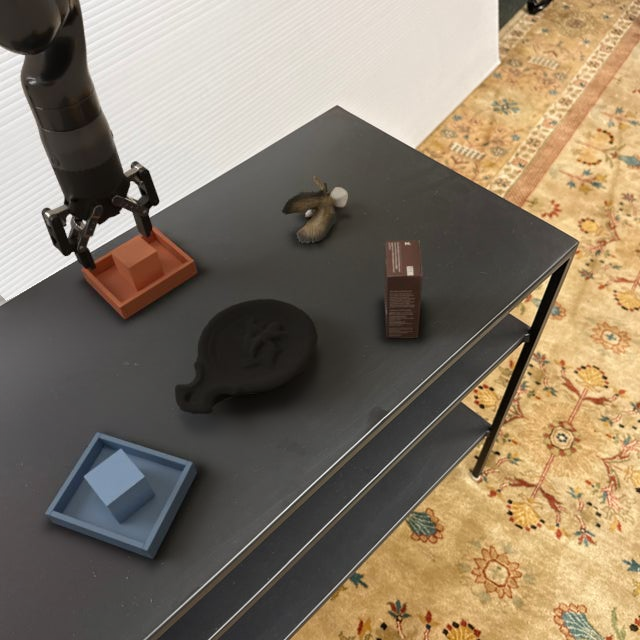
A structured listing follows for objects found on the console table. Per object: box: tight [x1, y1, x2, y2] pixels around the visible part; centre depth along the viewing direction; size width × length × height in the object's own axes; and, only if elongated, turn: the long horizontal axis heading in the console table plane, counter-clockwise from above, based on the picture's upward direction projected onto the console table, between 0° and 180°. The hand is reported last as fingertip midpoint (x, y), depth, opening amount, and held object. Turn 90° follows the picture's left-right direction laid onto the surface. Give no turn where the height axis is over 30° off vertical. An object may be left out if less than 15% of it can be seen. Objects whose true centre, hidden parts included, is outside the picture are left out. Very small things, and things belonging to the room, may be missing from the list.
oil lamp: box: [174, 298, 319, 415], centre depth 79 cm, size 15×20×5 cm
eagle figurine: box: [281, 175, 349, 244], centre depth 95 cm, size 8×7×9 cm
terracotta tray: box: [80, 226, 199, 320], centre depth 91 cm, size 12×10×2 cm
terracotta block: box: [109, 234, 164, 291], centre depth 90 cm, size 5×5×5 cm
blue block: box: [84, 449, 155, 524], centre depth 69 cm, size 5×5×5 cm
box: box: [384, 239, 423, 339], centre depth 80 cm, size 6×4×12 cm
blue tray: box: [44, 431, 198, 560], centre depth 70 cm, size 12×10×2 cm
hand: (118, 250), depth 86 cm, fingers open, 8 cm apart
